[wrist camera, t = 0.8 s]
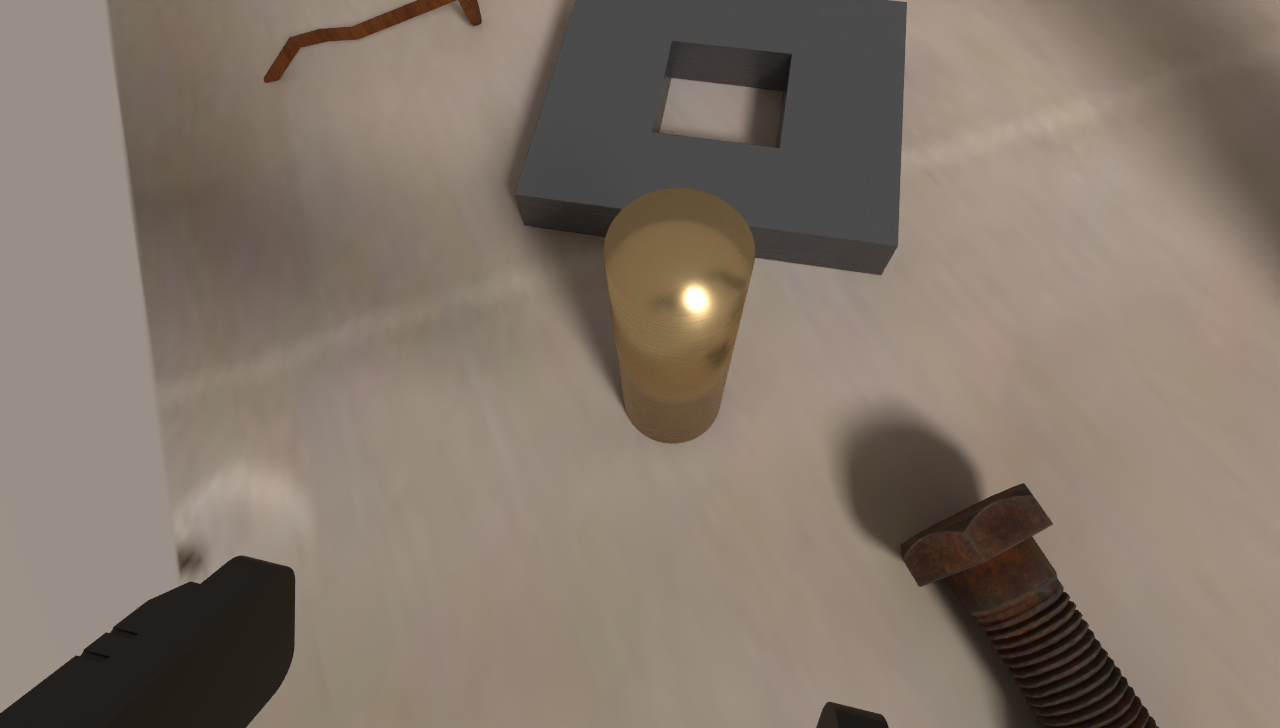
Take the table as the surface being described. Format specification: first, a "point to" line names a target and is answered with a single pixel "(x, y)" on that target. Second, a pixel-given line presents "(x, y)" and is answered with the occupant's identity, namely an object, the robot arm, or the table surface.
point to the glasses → (363, 30)
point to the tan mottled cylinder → (676, 306)
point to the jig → (737, 173)
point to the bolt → (1026, 611)
